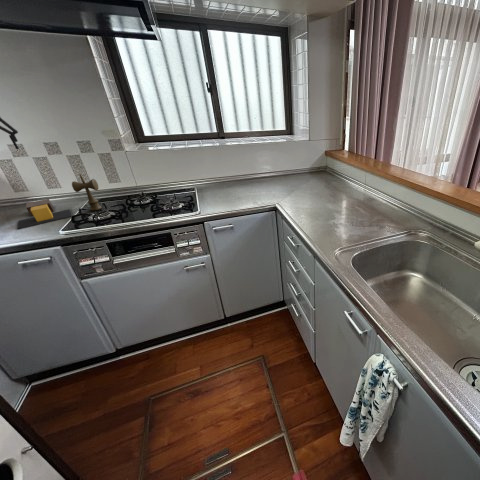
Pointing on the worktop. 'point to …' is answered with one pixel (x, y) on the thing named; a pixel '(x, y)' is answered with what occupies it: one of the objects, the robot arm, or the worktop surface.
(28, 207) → the walnut block
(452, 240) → the worktop surface
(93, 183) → the kendama
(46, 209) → the mustard cube
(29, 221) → the rubber mat
